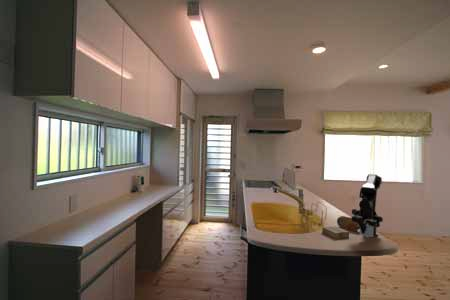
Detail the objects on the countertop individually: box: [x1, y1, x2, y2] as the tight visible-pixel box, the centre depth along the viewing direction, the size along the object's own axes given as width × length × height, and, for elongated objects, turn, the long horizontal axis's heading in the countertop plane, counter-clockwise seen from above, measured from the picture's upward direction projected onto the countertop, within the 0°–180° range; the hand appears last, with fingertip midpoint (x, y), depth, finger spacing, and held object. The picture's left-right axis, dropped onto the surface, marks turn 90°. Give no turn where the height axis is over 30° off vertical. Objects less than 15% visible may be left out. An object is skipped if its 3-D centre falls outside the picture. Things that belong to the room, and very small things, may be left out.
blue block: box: [359, 224, 374, 238], centre depth 141 cm, size 5×5×6 cm
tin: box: [336, 215, 360, 232], centre depth 164 cm, size 15×3×8 cm, turn 45°
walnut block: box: [321, 225, 350, 240], centre depth 151 cm, size 11×11×4 cm
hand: (366, 233), depth 141 cm, fingers closed on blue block, 5 cm apart
